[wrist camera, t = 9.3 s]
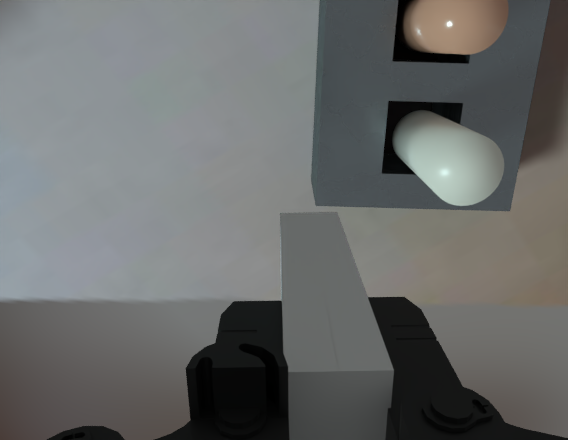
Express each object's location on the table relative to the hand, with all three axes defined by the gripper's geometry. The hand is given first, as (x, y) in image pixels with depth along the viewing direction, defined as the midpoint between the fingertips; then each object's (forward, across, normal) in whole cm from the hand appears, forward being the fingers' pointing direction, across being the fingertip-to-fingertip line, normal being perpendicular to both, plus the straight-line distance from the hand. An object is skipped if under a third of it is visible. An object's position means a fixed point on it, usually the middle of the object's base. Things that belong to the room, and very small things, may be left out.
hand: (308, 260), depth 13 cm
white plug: (+22, +9, -1) cm, 24 cm away
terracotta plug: (+25, +9, +7) cm, 27 cm away
